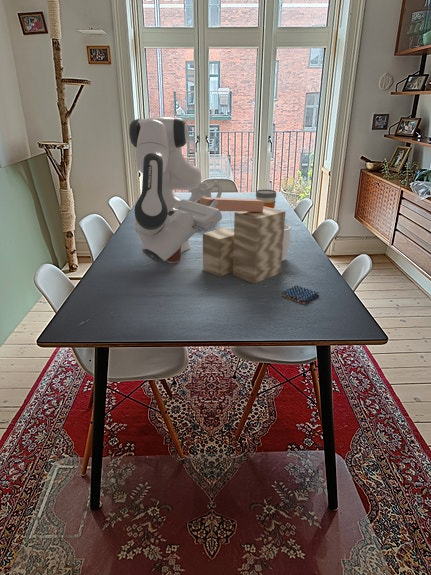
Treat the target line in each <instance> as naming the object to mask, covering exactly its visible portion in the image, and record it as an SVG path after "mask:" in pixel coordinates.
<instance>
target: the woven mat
mask: <svg viewBox="0 0 431 575" xmlns="http://www.w3.org/2000/svg"><path fill="white" fill-rule="evenodd" d="M319 296H320V292H317V291H316V290H312V289H310V288H306V287H303V286H302V285H301V286H300V285H298V284H297V285H294V286H291V288H288V289H287V290H284V291H283V292H281V297H283V298H286V299H287V300H288V299H289V300H292V301H294V302H297V303H299V304H302V305H305V304H308V303H309V302H310V301H313V299H315V298H316V297H319Z"/></svg>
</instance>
